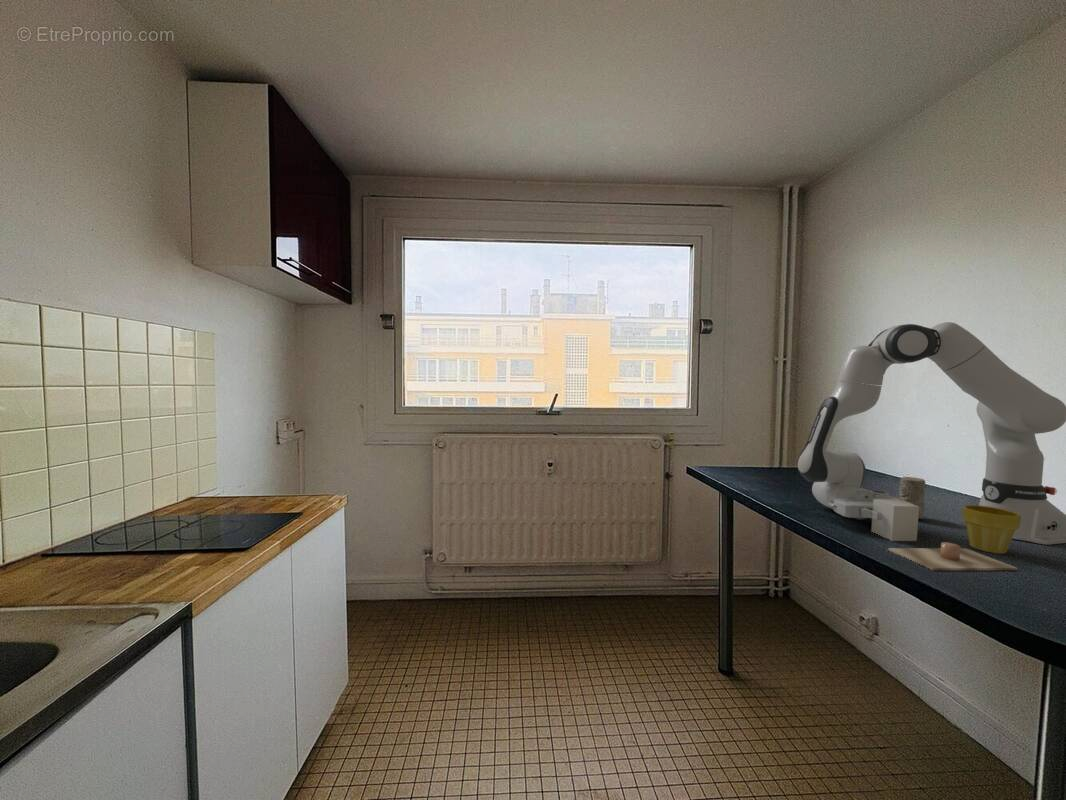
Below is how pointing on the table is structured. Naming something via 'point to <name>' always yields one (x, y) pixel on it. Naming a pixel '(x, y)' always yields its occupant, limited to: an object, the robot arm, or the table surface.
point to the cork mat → (936, 562)
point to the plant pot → (990, 527)
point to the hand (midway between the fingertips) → (896, 516)
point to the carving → (913, 492)
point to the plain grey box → (896, 520)
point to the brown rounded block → (950, 551)
